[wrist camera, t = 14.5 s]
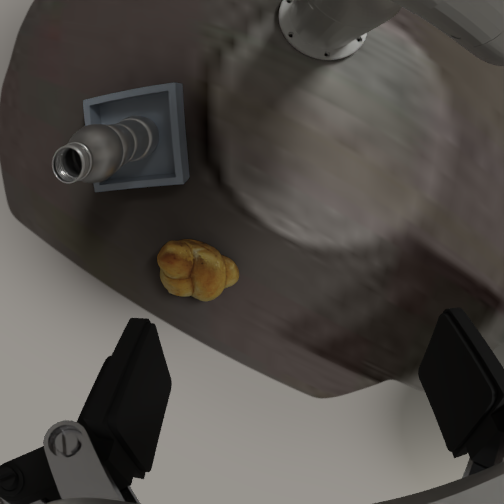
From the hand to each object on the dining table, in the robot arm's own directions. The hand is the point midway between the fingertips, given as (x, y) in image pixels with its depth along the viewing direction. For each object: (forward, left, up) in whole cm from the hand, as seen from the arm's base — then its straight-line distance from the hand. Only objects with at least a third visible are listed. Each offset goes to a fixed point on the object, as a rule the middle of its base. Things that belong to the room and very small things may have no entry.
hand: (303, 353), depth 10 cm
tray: (-4, -19, -38) cm, 43 cm away
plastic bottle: (-4, -18, -38) cm, 42 cm away
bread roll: (+18, -12, -39) cm, 44 cm away
